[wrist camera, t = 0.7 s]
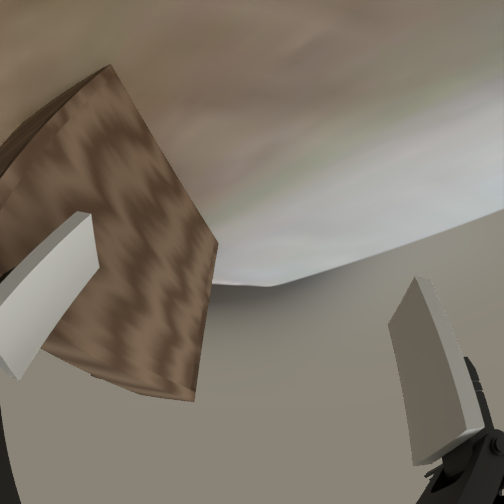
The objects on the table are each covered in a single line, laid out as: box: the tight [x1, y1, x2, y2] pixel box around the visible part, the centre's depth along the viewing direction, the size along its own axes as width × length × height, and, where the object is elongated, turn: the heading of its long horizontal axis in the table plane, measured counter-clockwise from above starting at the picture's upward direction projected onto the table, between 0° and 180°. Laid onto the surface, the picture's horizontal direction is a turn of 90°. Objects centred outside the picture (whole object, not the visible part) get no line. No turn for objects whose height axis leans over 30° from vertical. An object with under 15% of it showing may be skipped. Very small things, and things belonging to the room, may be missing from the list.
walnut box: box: [0, 64, 218, 402], centre depth 29 cm, size 28×16×22 cm, turn 17°
